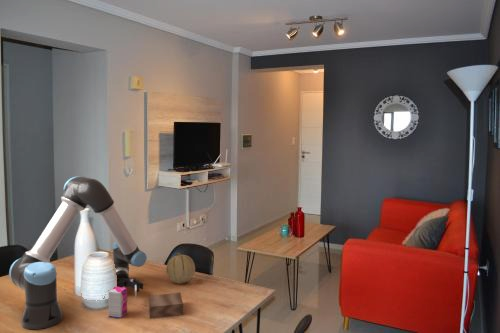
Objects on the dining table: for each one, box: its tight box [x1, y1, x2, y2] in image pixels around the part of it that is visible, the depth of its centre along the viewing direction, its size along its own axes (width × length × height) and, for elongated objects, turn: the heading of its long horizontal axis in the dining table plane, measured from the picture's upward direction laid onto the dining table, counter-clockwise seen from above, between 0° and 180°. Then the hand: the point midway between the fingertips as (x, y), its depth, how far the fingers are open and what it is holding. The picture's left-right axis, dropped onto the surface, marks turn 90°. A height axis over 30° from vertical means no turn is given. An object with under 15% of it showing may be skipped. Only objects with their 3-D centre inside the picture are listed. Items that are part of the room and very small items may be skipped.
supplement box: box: [108, 287, 128, 319], centre depth 180 cm, size 6×6×12 cm
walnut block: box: [148, 292, 184, 319], centre depth 185 cm, size 14×12×5 cm
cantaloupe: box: [166, 252, 196, 285], centre depth 216 cm, size 15×15×15 cm
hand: (119, 294), depth 186 cm, fingers open, 13 cm apart
